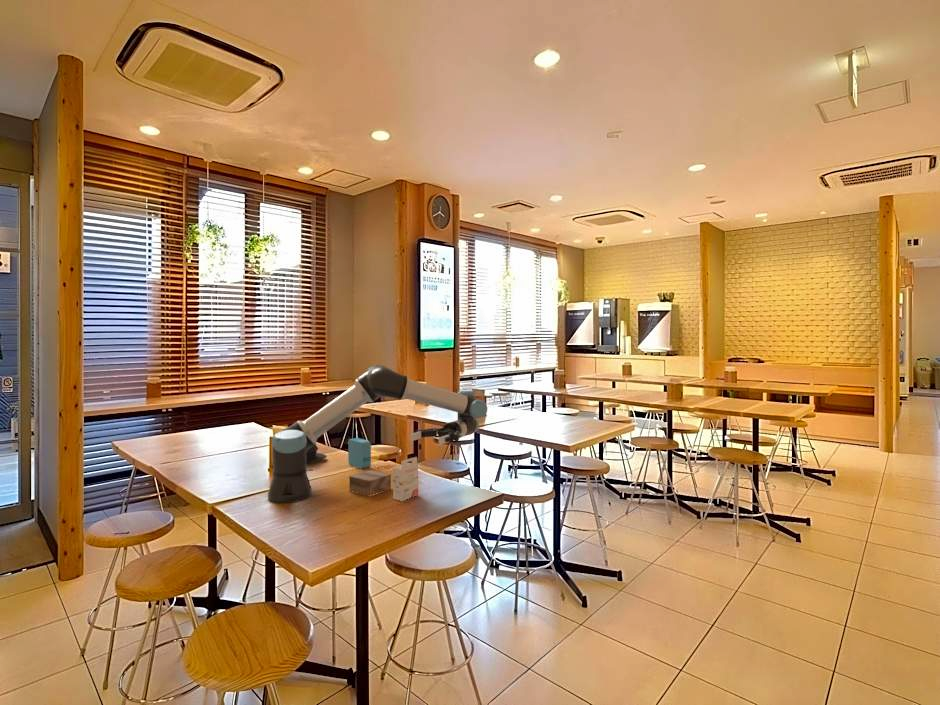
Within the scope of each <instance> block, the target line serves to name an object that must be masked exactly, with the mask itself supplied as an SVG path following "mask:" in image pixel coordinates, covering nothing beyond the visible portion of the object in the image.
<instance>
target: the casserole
mask: <svg viewBox="0 0 940 705" xmlns="http://www.w3.org/2000/svg"><path fill="white" fill-rule="evenodd" d="M318 450H319V447H318V446H317V443H316V444H315V445H314V446H312V447H311V448H310V449H308V450H307V451H306V461H307V465H309V464H312V463H315V462H316V461H320V460H323V459H326V458H327V455H326V454H325V453H321V452H318Z"/></svg>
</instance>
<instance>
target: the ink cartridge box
mask: <svg viewBox="0 0 940 705" xmlns="http://www.w3.org/2000/svg"><path fill="white" fill-rule="evenodd" d="M418 463H419V462H418V457H417V456H415V457H411V458H407V459H403V460H401V464H400V465H398V466H393V467H392V490H393V492H392V493H393V494H392V495H393V497H392V499H393V500H395V499H396V500H395V501H399V500H400V502H405V501H407V500H406V499H408V500H410V499H412V498H411V497H413V498H415V497H414V496H416V497H418V496H419V464H418ZM417 495H418V496H417ZM409 498H410V499H409ZM404 500H405V501H404Z"/></svg>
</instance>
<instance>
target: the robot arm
mask: <svg viewBox="0 0 940 705" xmlns="http://www.w3.org/2000/svg"><path fill="white" fill-rule="evenodd" d="M381 397H385V398H392V399H395V400H396V399H397V400H399V401H401V400H404V399H406V400H410V401H413V402H417V403H421V404H425V405H428V406H433V407H436V408H441V409H443V410H448V411H451V412H455V413H457V419H455V420H453V421H450V422H446V423H445V424H444V425H443V426H442V427H440V428H436V427H433V428H426V429H415V432H412V433H410V434H409V442H413V441H416V440H421V439H422V438H431V437H434V438H435V439H436V438H438V446H441V445H444V444H447V443H450V442H452V443H453V442H455V443H457V442H459V440H460V438H463V437H466V436H469V435H472V434H474V433H476V432H477V431H478V430H479V428H480V427H479V426H480V423H479V420H478V419H481V418H484V417H485V416H486V414H487V413H488V405H487V403H486V402H485V401H484V400H482V399H479V398H476V396H475V391H474V390H459V391H458V392H453V391H450V390H447V389H443V388H440V387H436V386H433V385H429V384H426V383H422V382H419V381H416V380H412V379H410V378H409V377H408V375H404V374H400V373H398V372H396V371H395V370H392V369H391V368H389V367H387V366H385V365H380V364H377V365H376V364H375V365H372V366H371V367H368V368H367V369H366V370H365V372H364V373H363V374H361V375H360V376H359V377H357V378H356V379H355V381H354V384H353V386H351V387H349V388H348V389H347V390H345V391H344V392H343V393H341V394H340V395H338V396H337V397H335V398H334V399H333V400H331V401H329V403H327V404H326V405H324V406H323V407H322V408H320V409H319V410H317V411H316V412H315V413H313V414H312V415H310V416H309V417H308V418H306V419H305V420H297V421H295V422H294V423H293V424H292V425H290V426H287V427H285V428H283V429H281V430H280V431H278V432H276V433H275V434H274V435H273V437H272V441H271V446H272V460H273V464H272V479H271V482H270V486H269V490H268V492H267V499H268V501H269V502H273V503H285V504H286V503H294V502H295V503H296V502H300V501H304V500H306V499H308V498H310V497H311V496H312V493H313V492H312V490H313V489H312V486H311V483H310V480H309V477H308V474H307V473H308V471H307V470H308V468H307V466H308V464H307V461H306V451H307V450H308V449H310V448H311V447H312V446H314V445H315V444H316V445H317V441H318V439H319V438H320V437H322V435H324V434H325V433H326V432H328V431H329V430H330V429H332V428H333V427H335V426H336V425H338V424H339V423H341V421H343V420H344V419H346V418H347V417H348V416H350V415H351V414H352V413H354V412H355V411H356V410H359V408H361V407H362V406H363V405H365V404H366V403H374V402H375V401H377V400H378V399H379V398H381Z"/></svg>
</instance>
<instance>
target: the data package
mask: <svg viewBox="0 0 940 705" xmlns="http://www.w3.org/2000/svg"><path fill="white" fill-rule="evenodd" d="M347 443H348V445H347V446H348V450H347V453H348V454H347V455H348V459H347V460H348V462H347V463H348V464H349V465H350V466H351V465H352V466H351V467H354V468H358V469H360V470H362V469H363V468H364V469H368V468H370V467H371V466H372V452H371V451H372V447H371V446H372V443H371V441H370V440H366V439H364V438H360V437H354V438H349V439H348V441H347ZM364 469H363V470H364Z"/></svg>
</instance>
